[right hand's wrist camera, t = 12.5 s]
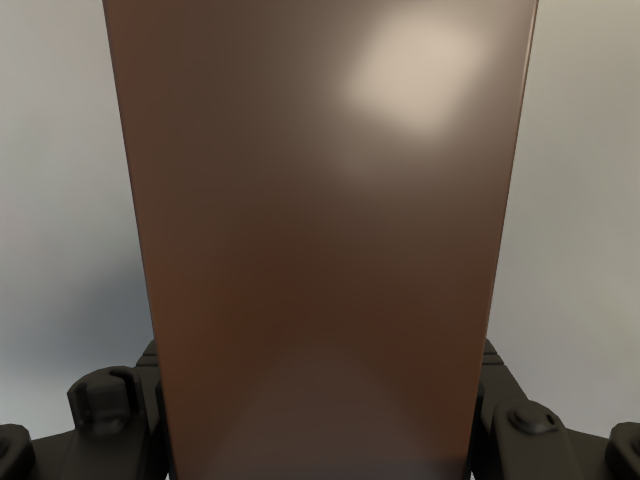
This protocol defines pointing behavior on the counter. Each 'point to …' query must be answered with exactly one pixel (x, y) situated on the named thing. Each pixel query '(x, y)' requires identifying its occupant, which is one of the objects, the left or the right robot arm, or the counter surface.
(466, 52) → the plank
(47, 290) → the counter surface
